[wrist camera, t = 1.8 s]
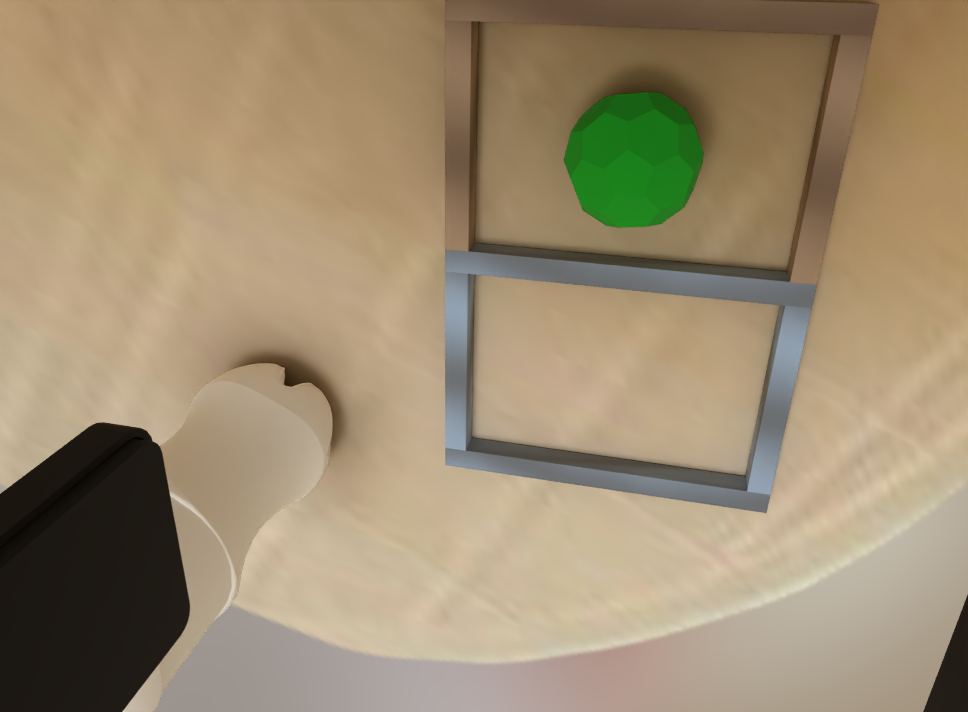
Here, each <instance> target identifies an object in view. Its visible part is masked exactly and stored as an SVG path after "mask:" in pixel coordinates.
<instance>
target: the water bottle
mask: <svg viewBox="0 0 968 712" xmlns="http://www.w3.org/2000/svg"><path fill="white" fill-rule="evenodd" d="M284 381H285V368H284V367H281V366H279V365H277V364H271V363H257V364H251V365H246V366H241V367H237V368H235V369H232V370H229V371H227V372H225V373H223V374H221V375H219V376H218V377H216V378H214V379H213V380H211V381H210V382H209V383H207V384H206V385H205V386H204V387H203V388H201V389H200V390H199V392H198V393H197V394H196V395H195V397H194V398H193V400H192V403H191V405H190V408H189V411H188V415H187V418H186V421H185V423H184V425H183V427H182V428H181V429H180V430H179V431H178V432H177V433H176V434H175V435H174V436H173V437H172V438H171V439H169V440H168V441H167V442H166V443H164V444H163V445H161V446H160V448H161V451H162V454H163V459H164V465H165V470H166V475H167V481H168V486H169V492H170V497H171V503H172V508H173V514H174V519H175V524H176V530H177V535H178V541H179V546H180V552H181V557H182V563H183V568H184V573H185V579H186V584H187V590H188V595H189V601H190V615H189V619H188V623H187V625H186V627H185V630H184V631H183V633H182V635H181V636H180V637H179V639H178V640H177V641H176V643H175V644H174V645H173V647H172V648H171V649H170V650H169V652H168V653H167V654H166V656H165V657H164V658H163V660H162V661H161V662H160V663H159V665H158V666H157V667H156V669H155V670H154V671H153V673H152V674H151V675H150V677H149V678H148V679H147V680H146V682H145V683H144V684H143V686H142V687H141V688H140V690H139V691H138V692H137V693H136V695H135V696H134V697H133V699H132V700H131V701H130V703H129V704H128V705H127V706H126V708H125V709H124V710H123V712H153V711H154V710H155V708H156V707H157V705H158V704H159V700H160V697H161V694H162V692H163V690H164V689H165V688H166V686H167V685H168V683H169V682H170V681H171V679H172V678H173V677H174V675H175V674H176V672H177V671H178V670H179V668H180V667H181V666H182V664H183V663H184V661H185V660H186V659H187V657H188V656H189V655H190V653H191V652H192V650H193V649H194V648H195V646H196V645H197V644H198V642H199V641H200V639H201V638H202V637H203V635H204V634H205V633H206V631H207V630H208V628H209V627H210V626H211V624H212V623H213V621H214V620H215V619H216V618H217V617H219V616H220V615H221V614H223V613H224V612H225V611H226V610H227V608H228V607H229V606H230V605H231V603H232V602H233V600H234V599H235V598H236V596H237V594H238V592H239V586H240V579H241V573H242V569H243V565H244V561H245V557H246V554H247V552H248V550H249V547H250V545H251V543H252V540H253V539H254V537H255V536H256V534H257V532H258V531H259V529H260V528H261V527H262V526H263V525H264V524H265V522H266V521H268V520H269V519H270V518H271V517H272V516H274V515H275V514H276V513H277V512H279V511H280V510H282V509H283V508H285V507H287V506H289V505H291V504H293V503H295V502H297V501H298V500H300V499H302V498H303V497H305V496H306V495H307V494H308V493H309V492H310V491H311V490H312V489H313V488H314V487H315V486H316V485H317V483H318V482H319V480H320V478H321V477H322V475H323V473H324V471H325V470H326V468H327V466H328V463H329V457H330V450H331V448H330V442H331V438H332V412H331V408H330V405H329V403H328V401H327V399H326V397H325V396H324V394H323V393H322V391H321V390H320V389H318V388H317V387H315V386H314V385H313V384H312V383H302V384H298V385H295V386H293V387H289V386H285V385H284Z"/></svg>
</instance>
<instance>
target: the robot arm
mask: <svg viewBox="0 0 968 712" xmlns="http://www.w3.org/2000/svg"><path fill="white" fill-rule="evenodd" d="M189 615H190V601H189V595H188V590H187V584H186V579H185V573H184V568H183V563H182V557H181V552H180V546H179V541H178V535H177V530H176V524H175V519H174V514H173V508H172V503H171V497H170V492H169V486H168V481H167V475H166V470H165V465H164V459H163V454H162V451H161V448H160V446H159V445H158V444H157V443H155V442H153V441H152V438H151V436H150V435H149V433H148V432H147V431H146V430H144V429H141V428H136V427H130V426H123V425H117V424H110V423H104V422H103V423H96V424H94V425H92V426H90V427H88V428H87V429H86V430H84V431H83V432H82V433H80V434H79V435H78V436H76V437H75V438H74V439H72V440H71V441H70V442H68V443H67V444H66V445H64V446H63V447H62V448H61V449H59V450H58V451H57V452H55V453H54V454H53V455H51V456H50V457H49V458H47V459H46V460H45V461H43V462H42V463H41V464H39V465H38V466H37V467H35V468H34V469H33V470H31V471H30V472H29V473H27V474H26V475H25V476H23V477H22V478H21V479H19V480H18V481H17V482H15V483H14V484H13V485H11V486H10V487H9V488H7V489H6V490H5V491H4V492H2V493H1V494H0V712H123V710H124V709H125V708H126V706H127V705H128V704H129V703H130V701H131V700H132V699H133V697H134V696H135V695H136V693H137V692H138V691H139V690H140V688H141V687H142V686H143V684H144V683H145V682H146V680H147V679H148V678H149V677H150V675H151V674H152V673H153V671H154V670H155V669H156V667H157V666H158V665H159V663H160V662H161V661H162V660H163V658H164V657H165V656H166V654H167V653H168V652H169V650H170V649H171V648H172V647H173V645H174V644H175V643H176V641H177V640H178V639H179V637H180V636H181V635H182V633H183V631H184V630H185V627H186V625H187V623H188V619H189ZM923 712H968V596H967V598H966V601H965V604H964V606H963V609H962V611H961V614H960V617H959V620H958V622H957V625H956V627H955V630H954V632H953V635H952V638H951V640H950V643H949V646H948V648H947V651H946V653H945V656H944V659H943V661H942V664H941V667H940V669H939V672H938V675H937V677H936V680H935V682H934V685H933V688H932V690H931V693H930V696H929V698H928V701H927V704H926V706H925V709H924V711H923Z"/></svg>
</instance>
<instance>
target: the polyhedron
mask: <svg viewBox="0 0 968 712" xmlns="http://www.w3.org/2000/svg"><path fill="white" fill-rule="evenodd" d="M564 162H565V165H566V167H567V170H568V173H569V175H570V178H571V181H572V183H573V186H574V189H575V191H576V194H577V196H578V199H579V202H580V204H581V207H582V209H583V211H585V212H586V213H588V214H589V215H591V216H592V217H594V218H595V219H597V220H598V221H600V222H601V223H603V224H605V225H606V226H612V227H618V228H620V227H647V226H652V225H658V224H662V223H663V222H664V221H666V220H667V219H669V218H670V217H671V216H673V215H674V214H675V213H677V212H678V211H680V210H681V209H682V208H684V207H685V205H686V203H687V201H688V199H689V197H690V195H691V193H692V191H693V189H694V186H695V183H696V180H697V177H698V174H699V171H700V169H701V166H702V163H703V150H702V147H701V144H700V140H699V137H698V134H697V131H696V128H695V125H694V123H693V121H692V120H691V118H690V116H689V114H688V113H687V111H686V109H685V108H683V107H682V106H680V105H679V104H677V103H676V102H674V101H673V100H671V99H670V98H668V97H667V96H665V95H664V94H662V93H650V92H644V93H631V94H617V95H611V96H606V97H603V98H602V99H601V100H600V101H599V102H598V103H596V104H595V105H594V106H593V107H592V108H590V109H589V110H588V111H587V112H586V113H585V114H583V115H582V116H581V118H580V119H579V121H578V122H577V124H576V125H575V127H574V128H573V130H572V132H571V135H570V138H569V142H568V146H567V150H566V153H565V157H564Z"/></svg>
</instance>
